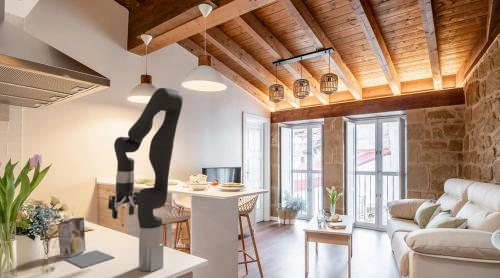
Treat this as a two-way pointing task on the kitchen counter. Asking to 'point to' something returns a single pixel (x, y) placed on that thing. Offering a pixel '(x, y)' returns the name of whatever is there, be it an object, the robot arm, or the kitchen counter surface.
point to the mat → (89, 258)
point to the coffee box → (71, 237)
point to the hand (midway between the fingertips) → (123, 216)
